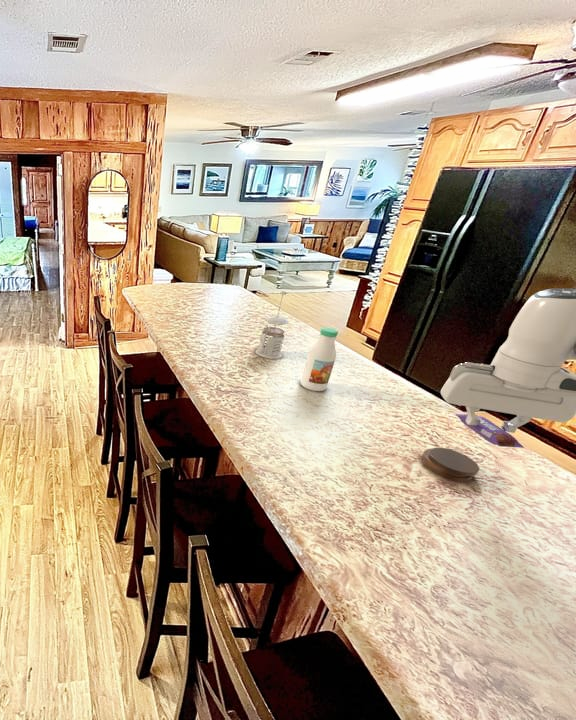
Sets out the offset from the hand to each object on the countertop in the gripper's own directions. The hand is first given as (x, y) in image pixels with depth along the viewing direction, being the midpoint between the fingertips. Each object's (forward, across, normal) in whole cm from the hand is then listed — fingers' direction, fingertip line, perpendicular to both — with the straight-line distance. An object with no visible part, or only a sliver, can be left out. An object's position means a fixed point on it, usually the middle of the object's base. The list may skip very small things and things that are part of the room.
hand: (489, 427), depth 82 cm
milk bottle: (+15, -26, +36) cm, 48 cm away
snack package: (+2, 0, 0) cm, 2 cm away
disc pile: (+15, -1, +4) cm, 16 cm away
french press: (+15, -40, +58) cm, 72 cm away
